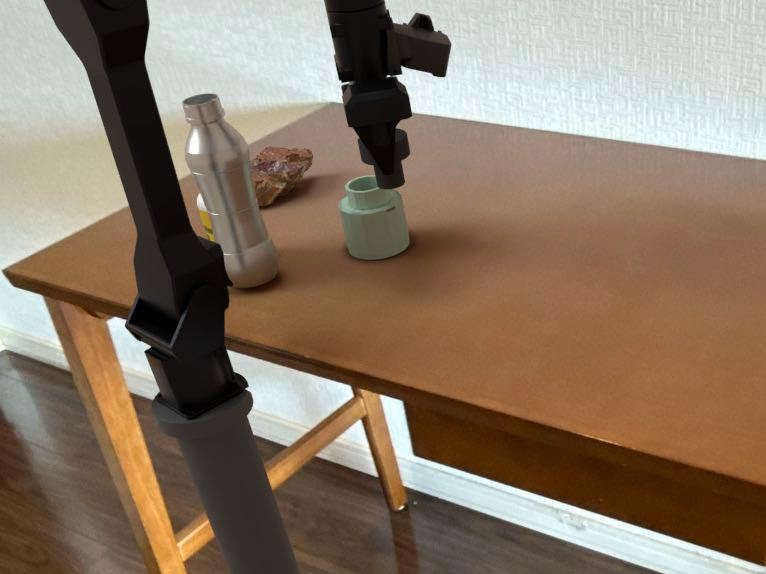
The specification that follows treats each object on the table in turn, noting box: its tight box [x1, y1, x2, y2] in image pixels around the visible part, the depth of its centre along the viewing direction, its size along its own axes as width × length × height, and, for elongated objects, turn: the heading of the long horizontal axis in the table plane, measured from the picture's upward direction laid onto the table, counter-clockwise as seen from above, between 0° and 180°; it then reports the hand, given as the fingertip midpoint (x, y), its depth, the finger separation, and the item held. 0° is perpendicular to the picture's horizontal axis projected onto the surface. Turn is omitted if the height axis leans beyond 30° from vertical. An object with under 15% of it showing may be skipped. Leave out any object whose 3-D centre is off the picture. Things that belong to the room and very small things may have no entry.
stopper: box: [357, 127, 411, 190], centre depth 108 cm, size 5×5×5 cm
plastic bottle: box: [181, 92, 280, 289], centre depth 109 cm, size 6×7×20 cm
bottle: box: [337, 174, 411, 261], centre depth 117 cm, size 7×7×8 cm
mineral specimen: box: [250, 145, 314, 207], centre depth 133 cm, size 12×8×7 cm
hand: (386, 165), depth 108 cm, fingers closed on stopper, 5 cm apart
